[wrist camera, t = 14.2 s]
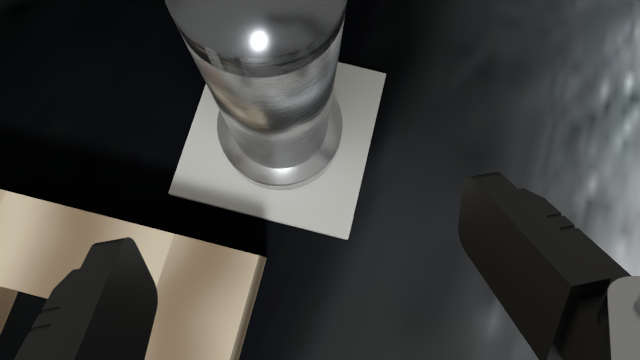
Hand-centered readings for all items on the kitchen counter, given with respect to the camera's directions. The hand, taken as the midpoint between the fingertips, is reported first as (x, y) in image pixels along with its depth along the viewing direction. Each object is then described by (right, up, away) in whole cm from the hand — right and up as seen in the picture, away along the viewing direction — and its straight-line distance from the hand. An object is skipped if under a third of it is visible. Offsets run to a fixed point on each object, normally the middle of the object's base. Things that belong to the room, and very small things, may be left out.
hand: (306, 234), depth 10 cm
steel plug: (-2, +4, +13) cm, 13 cm away
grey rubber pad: (-2, +4, +13) cm, 14 cm away
